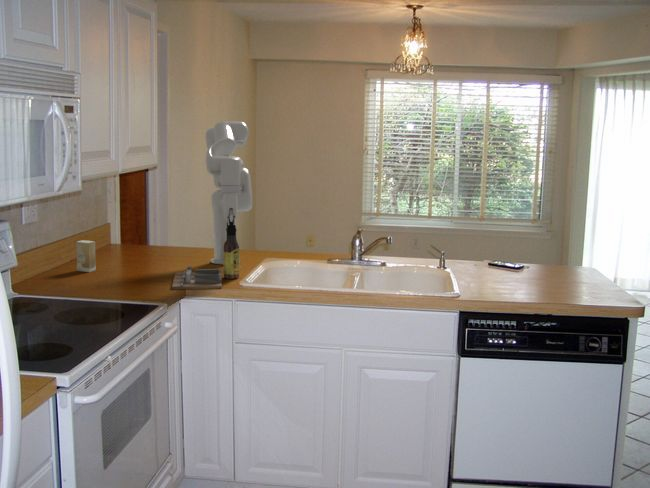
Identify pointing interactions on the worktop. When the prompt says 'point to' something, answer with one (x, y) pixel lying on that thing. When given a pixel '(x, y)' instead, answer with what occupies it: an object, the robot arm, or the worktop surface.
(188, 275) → the gate
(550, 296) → the worktop surface
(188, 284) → the board
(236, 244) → the sauce bottle
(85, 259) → the skincare box
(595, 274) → the worktop surface
